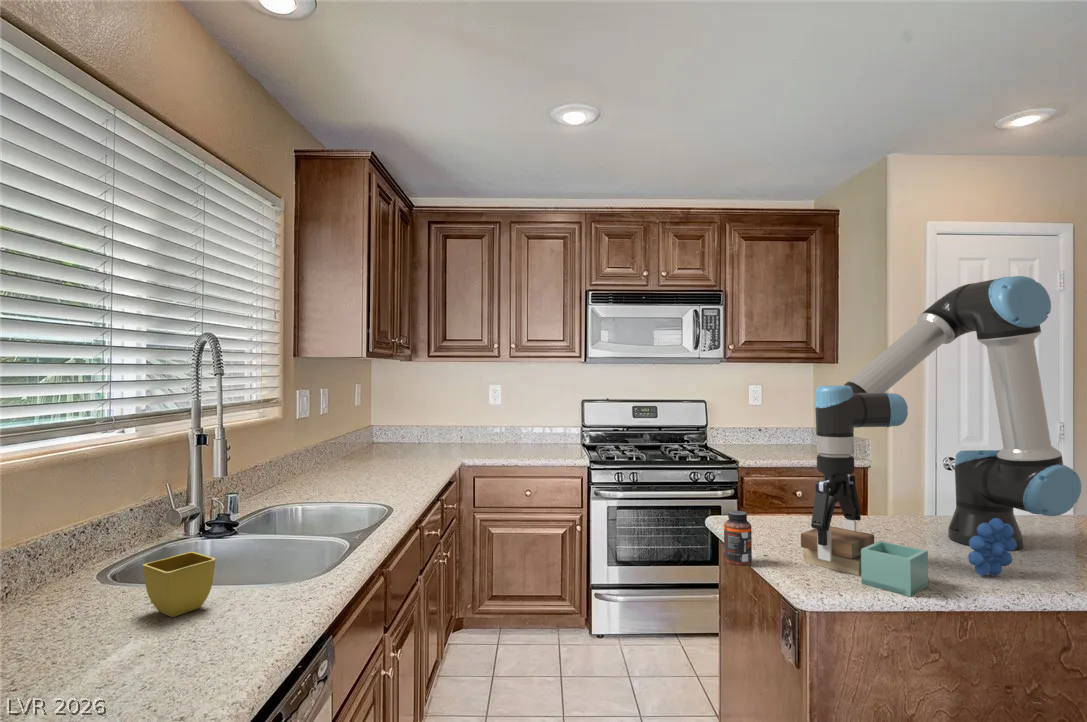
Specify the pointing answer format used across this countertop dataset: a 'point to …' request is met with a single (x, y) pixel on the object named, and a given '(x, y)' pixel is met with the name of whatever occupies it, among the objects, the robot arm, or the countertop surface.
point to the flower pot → (179, 582)
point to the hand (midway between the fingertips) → (837, 554)
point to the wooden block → (834, 562)
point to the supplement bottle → (737, 539)
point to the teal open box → (894, 568)
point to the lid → (840, 541)
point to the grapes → (992, 547)
